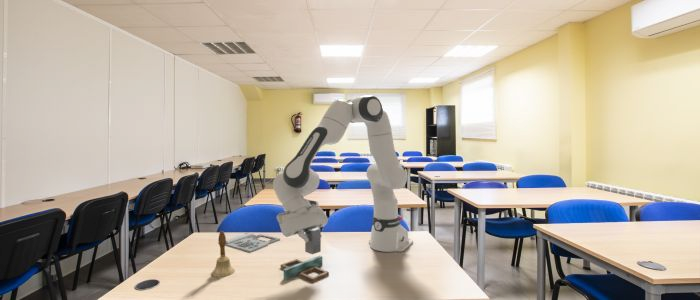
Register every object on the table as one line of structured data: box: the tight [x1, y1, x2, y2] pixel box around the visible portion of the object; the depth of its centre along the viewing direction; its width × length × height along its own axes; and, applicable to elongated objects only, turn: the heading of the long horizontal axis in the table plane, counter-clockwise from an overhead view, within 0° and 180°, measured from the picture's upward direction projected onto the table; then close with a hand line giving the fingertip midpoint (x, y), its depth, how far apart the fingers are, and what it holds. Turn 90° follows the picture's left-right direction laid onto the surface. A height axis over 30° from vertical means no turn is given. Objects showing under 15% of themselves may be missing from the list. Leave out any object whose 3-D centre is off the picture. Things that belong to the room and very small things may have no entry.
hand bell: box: [211, 230, 236, 278], centre depth 123 cm, size 8×8×16 cm
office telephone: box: [225, 231, 281, 253], centre depth 159 cm, size 23×3×20 cm
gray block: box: [304, 227, 322, 255], centre depth 120 cm, size 4×4×8 cm
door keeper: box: [280, 255, 330, 283], centre depth 124 cm, size 18×19×4 cm
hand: (314, 239), depth 119 cm, fingers closed on gray block, 4 cm apart
